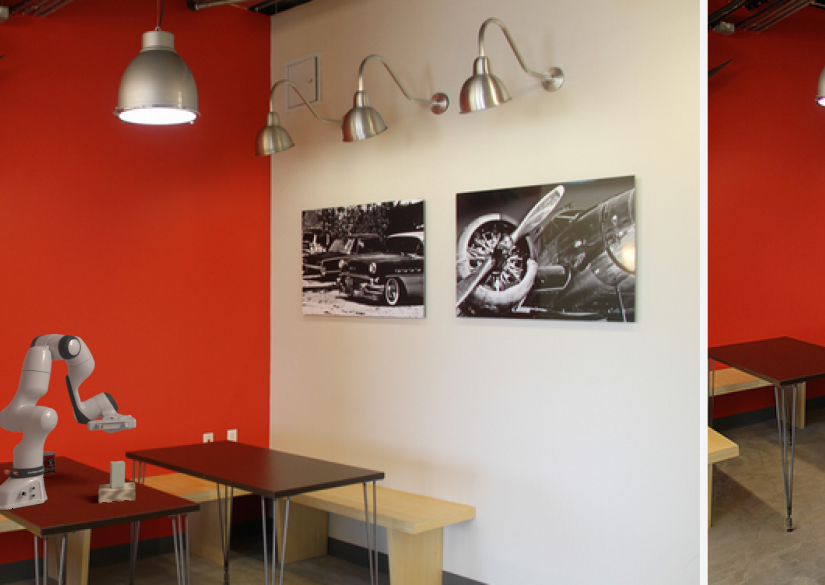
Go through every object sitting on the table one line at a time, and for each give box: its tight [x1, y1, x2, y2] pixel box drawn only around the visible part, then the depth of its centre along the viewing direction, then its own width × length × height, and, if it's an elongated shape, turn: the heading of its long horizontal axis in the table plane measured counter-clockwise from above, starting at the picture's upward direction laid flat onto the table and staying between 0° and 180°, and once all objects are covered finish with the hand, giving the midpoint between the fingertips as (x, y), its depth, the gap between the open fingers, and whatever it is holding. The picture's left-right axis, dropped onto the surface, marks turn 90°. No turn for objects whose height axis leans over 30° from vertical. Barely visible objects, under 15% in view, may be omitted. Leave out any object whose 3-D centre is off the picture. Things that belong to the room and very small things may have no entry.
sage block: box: [109, 460, 126, 488], centre depth 332 cm, size 5×5×10 cm
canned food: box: [43, 451, 56, 478], centre depth 379 cm, size 8×8×11 cm
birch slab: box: [98, 481, 136, 504], centre depth 331 cm, size 14×14×5 cm
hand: (112, 426), depth 350 cm, fingers open, 8 cm apart
